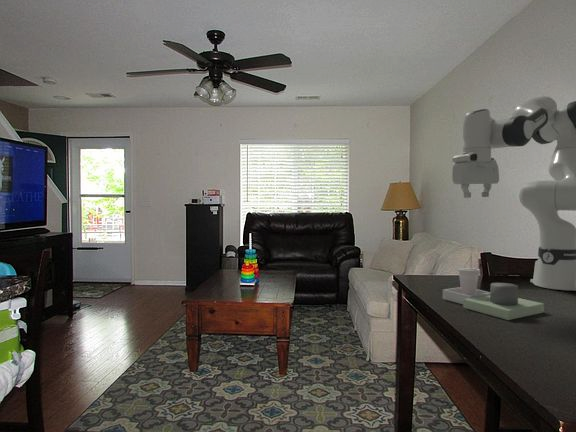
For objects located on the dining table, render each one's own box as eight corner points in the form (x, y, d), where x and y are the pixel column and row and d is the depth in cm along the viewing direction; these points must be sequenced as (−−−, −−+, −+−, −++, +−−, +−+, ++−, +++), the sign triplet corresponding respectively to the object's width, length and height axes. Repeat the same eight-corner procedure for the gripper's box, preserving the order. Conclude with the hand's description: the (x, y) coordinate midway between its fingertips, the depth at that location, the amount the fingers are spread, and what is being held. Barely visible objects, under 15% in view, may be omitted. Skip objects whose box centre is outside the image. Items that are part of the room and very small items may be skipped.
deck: (470, 294, 135) (470, 272, 135) (543, 312, 114) (544, 286, 114) (436, 299, 128) (436, 276, 128) (508, 320, 107) (508, 292, 106)
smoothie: (482, 302, 123) (483, 257, 123) (460, 301, 124) (461, 256, 124) (475, 297, 130) (476, 254, 129) (455, 296, 131) (455, 253, 130)
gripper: (487, 158, 146) (487, 196, 147) (449, 157, 137) (448, 198, 138) (504, 157, 141) (503, 196, 142) (464, 155, 131) (464, 198, 132)
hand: (476, 197), depth 140 cm, fingers open, 8 cm apart
